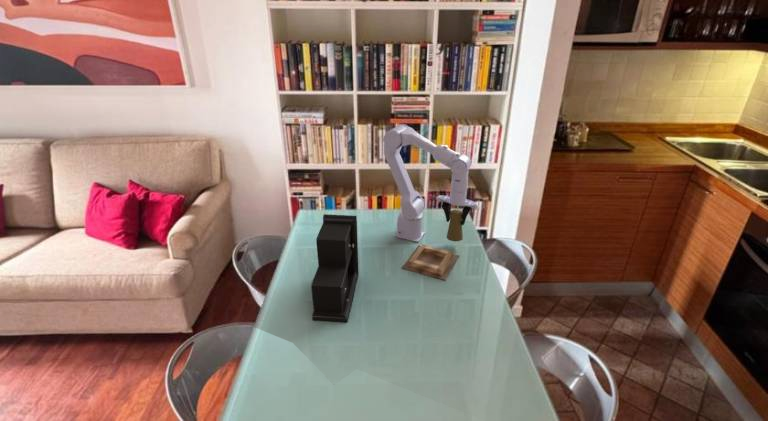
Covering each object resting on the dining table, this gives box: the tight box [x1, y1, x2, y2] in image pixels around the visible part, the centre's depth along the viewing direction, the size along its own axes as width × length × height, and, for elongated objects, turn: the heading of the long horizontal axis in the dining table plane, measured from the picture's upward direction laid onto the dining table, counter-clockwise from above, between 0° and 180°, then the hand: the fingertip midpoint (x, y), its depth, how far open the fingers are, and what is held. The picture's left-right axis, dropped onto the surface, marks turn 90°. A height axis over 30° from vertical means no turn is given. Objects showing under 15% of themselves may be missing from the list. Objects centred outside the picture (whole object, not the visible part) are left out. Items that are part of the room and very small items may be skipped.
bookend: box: [310, 213, 359, 323], centre depth 124 cm, size 23×11×24 cm, turn 175°
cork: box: [446, 209, 464, 242], centre depth 151 cm, size 6×6×11 cm
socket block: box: [401, 243, 460, 281], centre depth 146 cm, size 16×16×2 cm
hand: (455, 222), depth 151 cm, fingers closed on cork, 5 cm apart
